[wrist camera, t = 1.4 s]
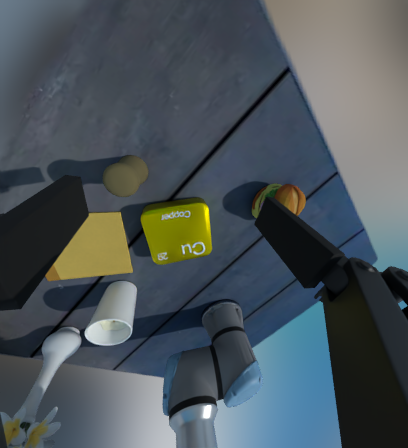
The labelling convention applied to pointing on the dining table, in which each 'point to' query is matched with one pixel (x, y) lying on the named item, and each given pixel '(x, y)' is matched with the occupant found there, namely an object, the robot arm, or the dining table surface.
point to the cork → (125, 176)
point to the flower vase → (41, 394)
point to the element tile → (177, 230)
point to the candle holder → (113, 315)
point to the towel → (94, 249)
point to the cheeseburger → (280, 198)
